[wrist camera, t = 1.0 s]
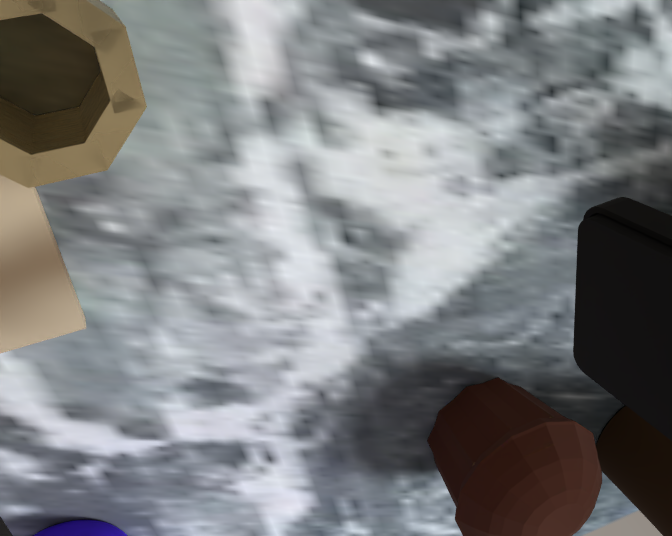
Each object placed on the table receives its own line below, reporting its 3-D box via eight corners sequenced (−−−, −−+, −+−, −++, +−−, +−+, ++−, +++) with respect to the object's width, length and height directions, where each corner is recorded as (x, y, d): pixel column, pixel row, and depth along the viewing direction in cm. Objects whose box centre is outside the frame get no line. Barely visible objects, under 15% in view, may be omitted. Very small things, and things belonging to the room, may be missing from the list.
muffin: (560, 366, 50) (659, 452, 42) (509, 475, 54) (590, 572, 46) (437, 363, 45) (524, 461, 36) (390, 484, 49) (459, 596, 40)
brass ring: (-87, -17, 24) (-122, -4, 20) (98, -43, 26) (108, -37, 21) (-16, 154, 28) (-31, 201, 23) (142, 120, 30) (160, 157, 25)
